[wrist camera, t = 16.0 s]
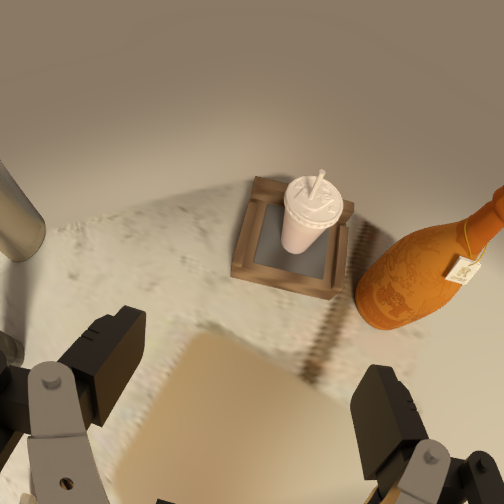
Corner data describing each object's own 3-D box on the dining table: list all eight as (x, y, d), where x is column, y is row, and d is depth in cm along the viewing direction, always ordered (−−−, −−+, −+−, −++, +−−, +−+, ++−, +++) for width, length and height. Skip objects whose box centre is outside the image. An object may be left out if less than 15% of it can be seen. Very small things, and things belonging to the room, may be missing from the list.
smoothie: (266, 221, 41) (288, 147, 28) (312, 218, 42) (347, 148, 29) (275, 266, 38) (303, 201, 26) (323, 261, 39) (368, 199, 27)
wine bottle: (338, 297, 42) (483, 154, 15) (377, 258, 46) (502, 120, 19) (382, 347, 39) (563, 261, 13) (417, 302, 43) (566, 199, 16)
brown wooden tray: (230, 276, 42) (233, 254, 35) (250, 205, 47) (255, 176, 41) (329, 300, 42) (348, 283, 35) (337, 227, 47) (354, 202, 41)
